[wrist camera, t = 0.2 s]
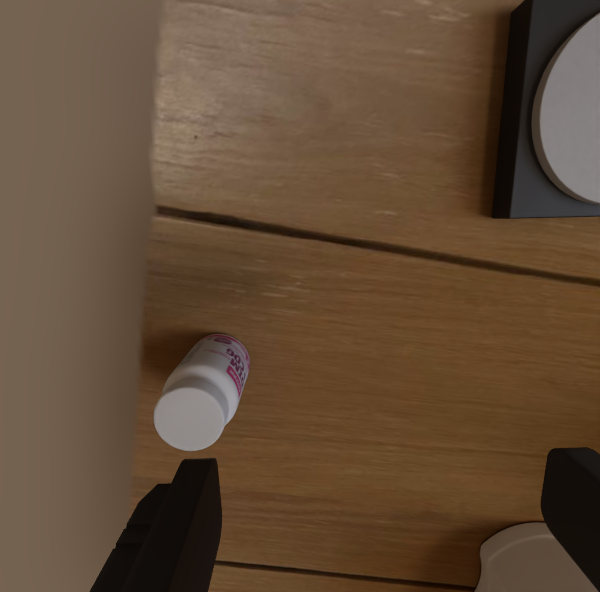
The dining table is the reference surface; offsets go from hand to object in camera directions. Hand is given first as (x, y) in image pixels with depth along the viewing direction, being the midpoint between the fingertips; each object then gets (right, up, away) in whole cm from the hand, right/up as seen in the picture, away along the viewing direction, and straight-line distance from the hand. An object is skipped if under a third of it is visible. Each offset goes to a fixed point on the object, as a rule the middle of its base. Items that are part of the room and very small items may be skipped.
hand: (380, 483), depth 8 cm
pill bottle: (-8, -1, +19) cm, 21 cm away
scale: (+18, +17, +16) cm, 29 cm away
